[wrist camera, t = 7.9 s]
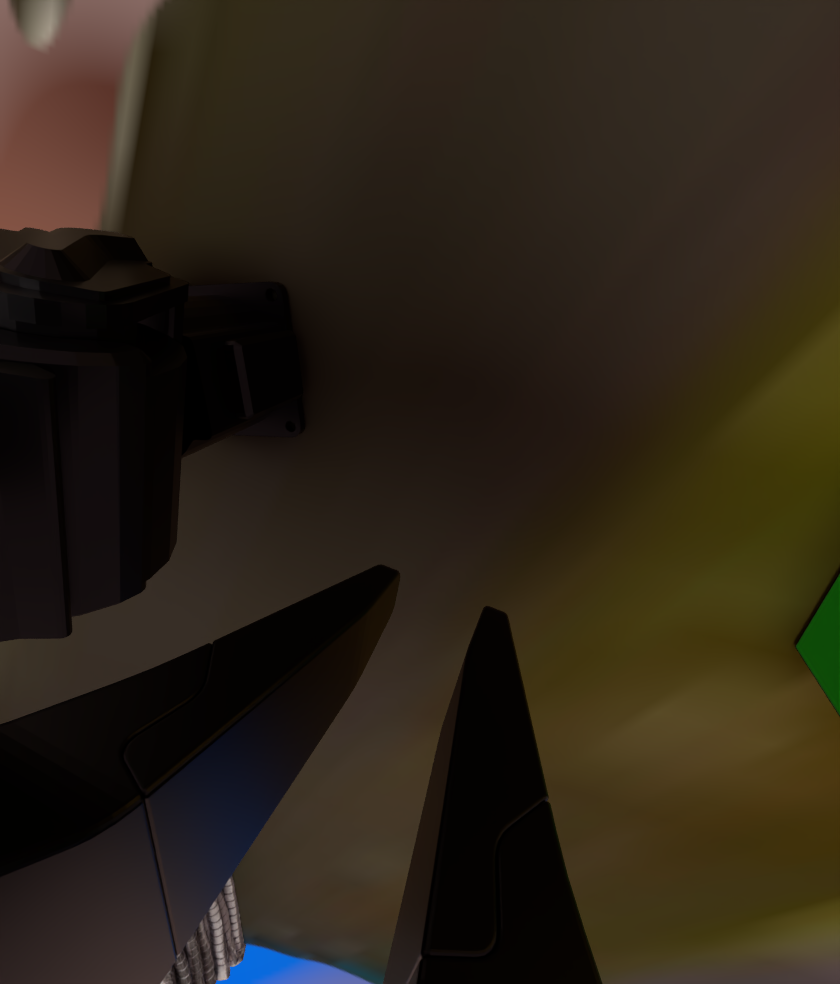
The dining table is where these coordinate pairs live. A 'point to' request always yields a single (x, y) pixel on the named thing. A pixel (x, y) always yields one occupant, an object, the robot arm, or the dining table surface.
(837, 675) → the puzzle cube
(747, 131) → the dining table surface
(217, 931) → the towel
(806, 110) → the dining table surface
